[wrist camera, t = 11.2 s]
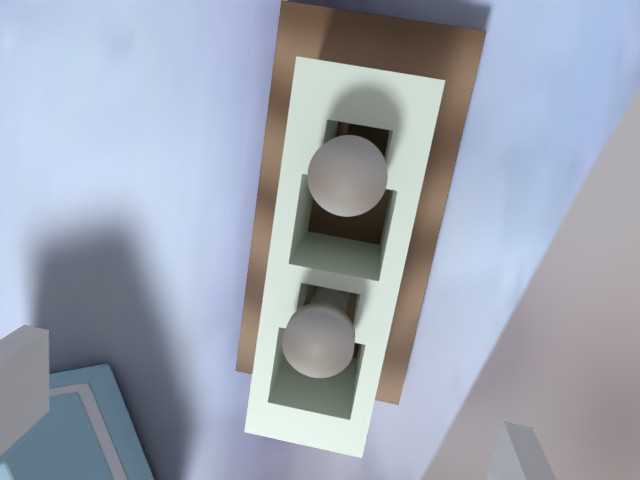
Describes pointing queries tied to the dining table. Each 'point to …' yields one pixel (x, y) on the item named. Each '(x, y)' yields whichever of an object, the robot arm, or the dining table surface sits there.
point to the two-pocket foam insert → (338, 251)
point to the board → (369, 225)
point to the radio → (79, 434)
